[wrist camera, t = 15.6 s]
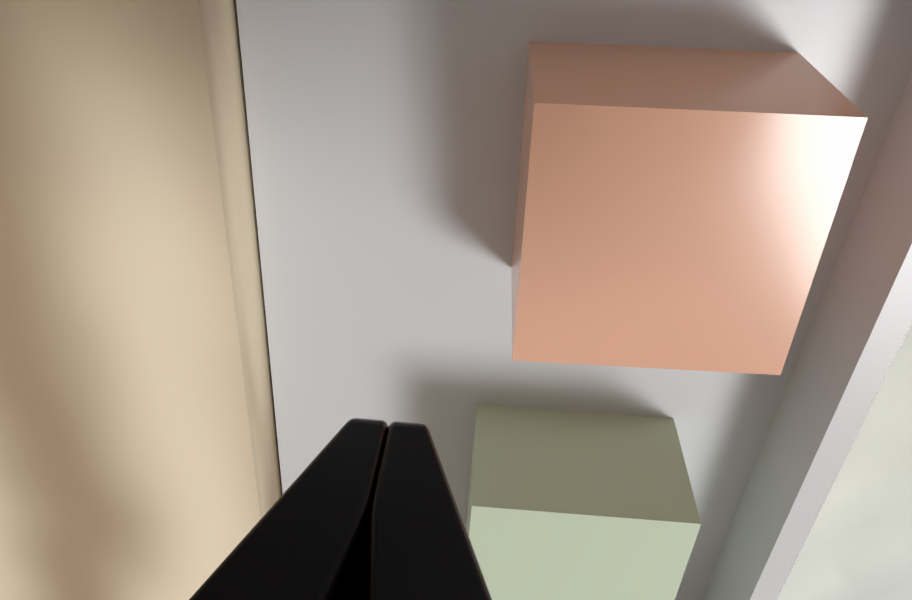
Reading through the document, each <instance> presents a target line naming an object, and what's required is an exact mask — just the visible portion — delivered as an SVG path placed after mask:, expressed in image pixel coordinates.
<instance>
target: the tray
mask: <svg viewBox="0 0 912 600" xmlns="http://www.w3.org/2000/svg"><path fill="white" fill-rule="evenodd" d="M236 5H237V15H238V26H239V37H240V47H241V58H242V68H243V79H244V90H245V100H246V111H247V121H248V132H249V143H250V153H251V164H252V174H253V185H254V196H255V206H256V217H257V227H258V238H259V249H260V259H261V270H262V280H263V291H264V302H265V312H266V323H267V333H268V344H269V355H270V365H271V376H272V386H273V397H274V408H275V418H276V429H277V439H278V450H279V461H280V471H281V482H282V492H283V493H284V492H285V491H286V490H287V489H288V488H289V487H290V485H291V484H292V483H293V482H294V481H295V480H296V479H297V478H298V476H299V475H300V474H301V473H302V472H303V471H304V470H305V469H306V467H307V466H308V465H309V464H310V463H311V462H312V461H313V460H314V458H315V457H316V456H317V455H318V454H319V453H320V452H321V451H322V449H323V448H324V447H325V446H326V445H327V444H328V443H329V442H330V440H331V439H332V438H333V437H334V436H335V435H336V434H337V433H338V431H339V430H340V429H341V428H342V427H343V426H344V425H345V424H346V423H347V422H348V421H349V420H350V419H353V418H363V419H374V420H383V421H385V422H386V423H387V424H388V427H389V425H390V424H391V423H392V422H395V421H398V422H409V423H421V424H425V425H426V426H427V427H428V428H429V430H430V433H431V436H432V438H433V441H434V444H435V446H436V449H437V452H438V455H439V457H440V460H441V463H442V465H443V468H444V471H445V474H446V476H447V479H448V482H449V484H450V487H451V490H452V493H453V495H454V498H455V501H456V503H457V506H458V509H459V512H460V514H461V517H462V520H463V522H464V525H465V527H466V516H467V505H468V494H469V483H470V472H471V461H472V450H473V439H474V428H475V417H476V406H477V404H487V405H500V406H513V407H527V408H540V409H553V410H566V411H579V412H592V413H605V414H618V415H631V416H644V417H658V418H671V419H674V422H675V426H676V430H677V433H678V437H679V441H680V445H681V449H682V453H683V456H684V460H685V464H686V468H687V472H688V475H689V479H690V483H691V487H692V491H693V495H694V498H695V502H696V506H697V510H698V514H699V518H700V521H701V526H700V529H699V532H698V535H697V537H696V540H695V543H694V546H693V549H692V552H691V555H690V557H689V560H688V563H687V566H686V569H685V572H684V575H683V577H682V580H681V583H680V586H679V589H678V592H677V595H676V597H675V600H777V598H778V596H779V594H780V592H781V590H782V588H783V586H784V584H785V582H786V580H787V578H788V576H789V574H790V572H791V569H792V567H793V565H794V563H795V561H796V559H797V557H798V555H799V553H800V551H801V549H802V547H803V545H804V543H805V541H806V539H807V537H808V535H809V533H810V531H811V528H812V526H813V524H814V522H815V520H816V518H817V516H818V514H819V512H820V510H821V508H822V506H823V504H824V502H825V500H826V498H827V496H828V494H829V492H830V489H831V487H832V485H833V483H834V481H835V479H836V477H837V475H838V473H839V471H840V469H841V467H842V465H843V463H844V461H845V459H846V457H847V455H848V453H849V450H850V448H851V446H852V444H853V442H854V440H855V438H856V436H857V434H858V432H859V430H860V428H861V426H862V424H863V422H864V420H865V418H866V416H867V414H868V412H869V409H870V407H871V405H872V403H873V401H874V399H875V397H876V395H877V393H878V391H879V389H880V387H881V385H882V383H883V381H884V379H885V377H886V375H887V373H888V370H889V368H890V366H891V364H892V362H893V360H894V358H895V356H896V354H897V352H898V350H899V348H900V346H901V344H902V342H903V340H904V338H905V336H906V334H907V331H908V329H909V327H910V325H911V323H912V0H236ZM529 41H536V42H560V43H585V44H609V45H633V46H657V47H681V48H706V49H730V50H754V51H778V52H798V53H800V54H801V55H802V56H803V57H804V58H805V59H806V60H807V61H808V62H809V63H810V64H811V65H812V66H813V67H815V68H816V69H817V70H818V71H819V72H820V73H821V74H822V75H823V76H824V77H825V78H826V79H827V80H828V81H829V82H831V83H832V84H833V85H834V86H835V87H836V88H837V89H838V90H839V91H840V92H841V93H842V94H843V95H844V96H845V97H847V98H848V99H849V100H850V101H851V102H852V103H853V104H854V105H855V106H856V107H857V108H858V109H859V110H860V111H861V112H863V113H864V114H865V115H866V116H867V117H868V119H867V122H866V125H865V128H864V131H863V134H862V136H861V139H860V142H859V145H858V148H857V151H856V154H855V157H854V160H853V163H852V166H851V169H850V172H849V175H848V178H847V181H846V184H845V187H844V190H843V193H842V195H841V198H840V201H839V204H838V207H837V210H836V213H835V216H834V219H833V222H832V225H831V228H830V231H829V234H828V237H827V240H826V243H825V246H824V249H823V252H822V254H821V257H820V260H819V263H818V266H817V269H816V272H815V275H814V278H813V281H812V284H811V287H810V290H809V293H808V296H807V299H806V302H805V305H804V308H803V311H802V313H801V316H800V319H799V322H798V325H797V328H796V331H795V334H794V337H793V340H792V343H791V346H790V349H789V352H788V355H787V358H786V361H785V364H784V367H783V370H782V372H781V375H769V374H751V373H732V372H714V371H695V370H677V369H658V368H640V367H621V366H603V365H584V364H566V363H547V362H529V361H512V285H511V266H512V253H513V240H514V227H515V214H516V201H517V188H518V175H519V162H520V149H521V137H522V124H523V111H524V98H525V85H526V72H527V59H528V46H529Z"/></svg>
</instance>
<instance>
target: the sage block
mask: <svg viewBox="0 0 912 600" xmlns="http://www.w3.org/2000/svg"><path fill="white" fill-rule="evenodd" d="M700 526H701V521H700V518H699V514H698V510H697V506H696V502H695V498H694V495H693V491H692V487H691V483H690V479H689V475H688V472H687V468H686V464H685V460H684V456H683V453H682V449H681V445H680V441H679V437H678V433H677V430H676V426H675V422H674V419H671V418H658V417H644V416H631V415H618V414H605V413H592V412H579V411H566V410H553V409H540V408H527V407H513V406H500V405H487V404H477V406H476V417H475V428H474V439H473V450H472V461H471V472H470V483H469V494H468V505H467V516H466V527H465V528H466V531H467V533H468V536H469V539H470V541H471V544H472V547H473V550H474V552H475V555H476V558H477V560H478V563H479V566H480V569H481V571H482V574H483V577H484V579H485V582H486V585H487V588H488V590H489V593H490V596H491V598H492V600H675V597H676V595H677V592H678V589H679V586H680V583H681V580H682V577H683V575H684V572H685V569H686V566H687V563H688V560H689V557H690V555H691V552H692V549H693V546H694V543H695V540H696V537H697V535H698V532H699V529H700Z"/></svg>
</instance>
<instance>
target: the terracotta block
mask: <svg viewBox="0 0 912 600" xmlns="http://www.w3.org/2000/svg"><path fill="white" fill-rule="evenodd" d="M867 119H868V117H867V116H866V115H865V114H864V113H863V112H861V111H860V110H859V109H858V108H857V107H856V106H855V105H854V104H853V103H852V102H851V101H850V100H849V99H848V98H847V97H845V96H844V95H843V94H842V93H841V92H840V91H839V90H838V89H837V88H836V87H835V86H834V85H833V84H832V83H831V82H829V81H828V80H827V79H826V78H825V77H824V76H823V75H822V74H821V73H820V72H819V71H818V70H817V69H816V68H815V67H813V66H812V65H811V64H810V63H809V62H808V61H807V60H806V59H805V58H804V57H803V56H802V55H801V54H800V53H798V52H778V51H754V50H730V49H706V48H681V47H657V46H633V45H609V44H585V43H560V42H536V41H529V46H528V59H527V72H526V85H525V98H524V111H523V124H522V137H521V149H520V162H519V175H518V188H517V201H516V214H515V227H514V240H513V253H512V266H511V285H512V361H529V362H547V363H566V364H584V365H603V366H621V367H640V368H658V369H677V370H695V371H714V372H732V373H751V374H769V375H781V372H782V370H783V367H784V364H785V361H786V358H787V355H788V352H789V349H790V346H791V343H792V340H793V337H794V334H795V331H796V328H797V325H798V322H799V319H800V316H801V313H802V311H803V308H804V305H805V302H806V299H807V296H808V293H809V290H810V287H811V284H812V281H813V278H814V275H815V272H816V269H817V266H818V263H819V260H820V257H821V254H822V252H823V249H824V246H825V243H826V240H827V237H828V234H829V231H830V228H831V225H832V222H833V219H834V216H835V213H836V210H837V207H838V204H839V201H840V198H841V195H842V193H843V190H844V187H845V184H846V181H847V178H848V175H849V172H850V169H851V166H852V163H853V160H854V157H855V154H856V151H857V148H858V145H859V142H860V139H861V136H862V134H863V131H864V128H865V125H866V122H867Z"/></svg>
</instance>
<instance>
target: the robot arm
mask: <svg viewBox="0 0 912 600" xmlns="http://www.w3.org/2000/svg"><path fill="white" fill-rule="evenodd" d="M189 600H492V598H491V596H490V593H489V590H488V588H487V585H486V582H485V579H484V577H483V574H482V571H481V569H480V566H479V563H478V560H477V558H476V555H475V552H474V550H473V547H472V544H471V541H470V539H469V536H468V533H467V531H466V528H465V525H464V522H463V520H462V517H461V514H460V512H459V509H458V506H457V503H456V501H455V498H454V495H453V493H452V490H451V487H450V484H449V482H448V479H447V476H446V474H445V471H444V468H443V465H442V463H441V460H440V457H439V455H438V452H437V449H436V446H435V444H434V441H433V438H432V436H431V433H430V430H429V428H428V427H427V426H426V425H425V424H421V423H409V422H398V421H395V422H392V423H391V424H390V425H389V427H388V424H387V423H386V422H385V421H383V420H374V419H363V418H353V419H350V420H349V421H348V422H347V423H346V424H345V425H344V426H343V427H342V428H341V429H340V430H339V431H338V433H337V434H336V435H335V436H334V437H333V438H332V439H331V440H330V442H329V443H328V444H327V445H326V446H325V447H324V448H323V449H322V451H321V452H320V453H319V454H318V455H317V456H316V457H315V458H314V460H313V461H312V462H311V463H310V464H309V465H308V466H307V467H306V469H305V470H304V471H303V472H302V473H301V474H300V475H299V476H298V478H297V479H296V480H295V481H294V482H293V483H292V484H291V485H290V487H289V488H288V489H287V490H286V491H285V492H284V493H283V494H282V496H281V497H280V498H279V499H278V500H277V501H276V502H275V503H274V505H273V506H272V507H271V508H270V509H269V510H268V511H267V512H266V514H265V515H264V516H263V517H262V518H261V519H260V520H259V521H258V523H257V524H256V525H255V526H254V527H253V528H252V529H251V530H250V532H249V533H248V534H247V535H246V536H245V537H244V538H243V539H242V541H241V542H240V543H239V544H238V545H237V546H236V547H235V548H234V550H233V551H232V552H231V553H230V554H229V555H228V556H227V557H226V559H225V560H224V561H223V562H222V563H221V564H220V565H219V566H218V568H217V569H216V570H215V571H214V572H213V573H212V574H211V575H210V577H209V578H208V579H207V580H206V581H205V582H204V583H203V584H202V586H201V587H200V588H199V589H198V590H197V591H196V592H195V593H194V595H193V596H192V597H191V598H190V599H189Z"/></svg>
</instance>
